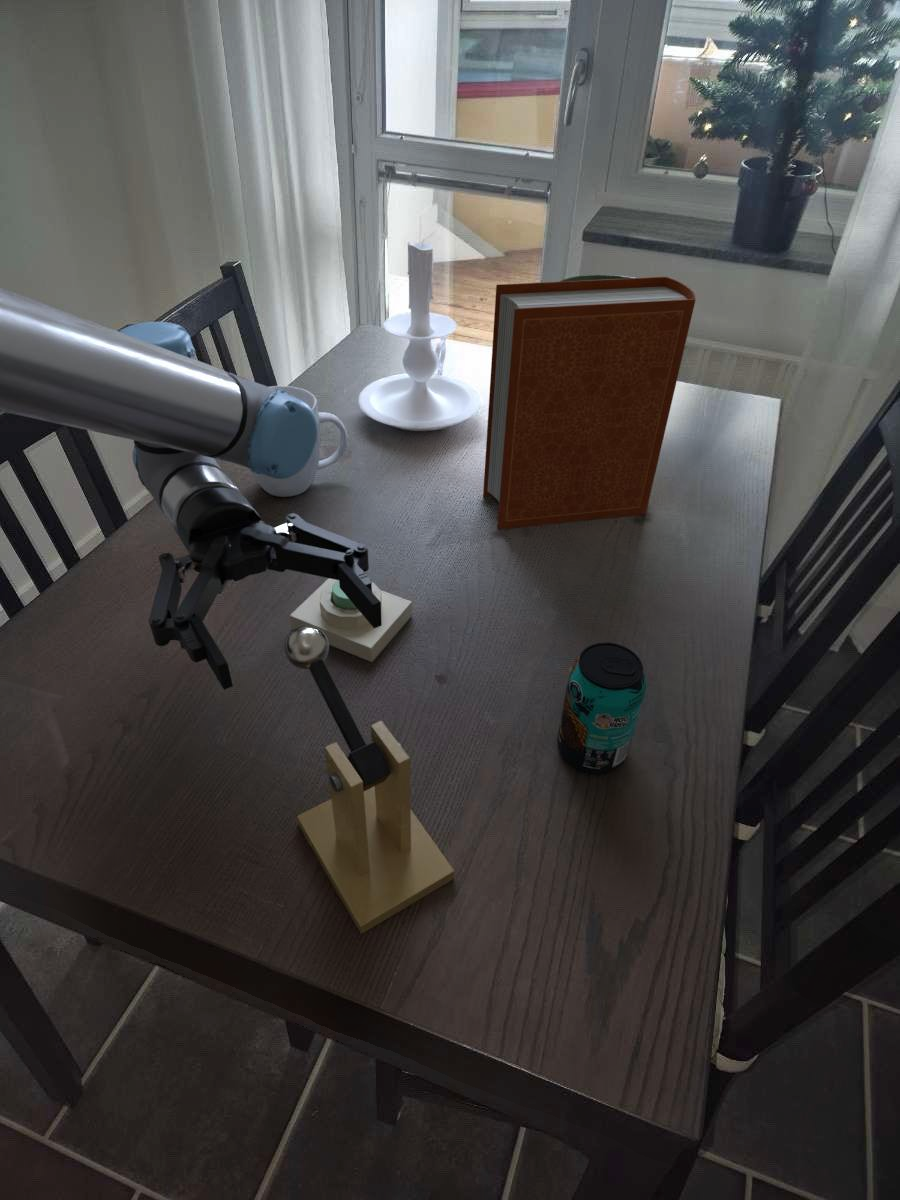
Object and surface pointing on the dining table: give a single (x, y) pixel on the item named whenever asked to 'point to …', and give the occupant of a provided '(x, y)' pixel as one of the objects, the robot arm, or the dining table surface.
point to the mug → (307, 474)
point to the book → (581, 396)
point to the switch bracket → (373, 837)
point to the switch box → (352, 621)
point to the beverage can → (601, 707)
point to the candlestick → (420, 363)
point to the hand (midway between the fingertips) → (305, 644)
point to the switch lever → (335, 702)
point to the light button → (341, 598)
